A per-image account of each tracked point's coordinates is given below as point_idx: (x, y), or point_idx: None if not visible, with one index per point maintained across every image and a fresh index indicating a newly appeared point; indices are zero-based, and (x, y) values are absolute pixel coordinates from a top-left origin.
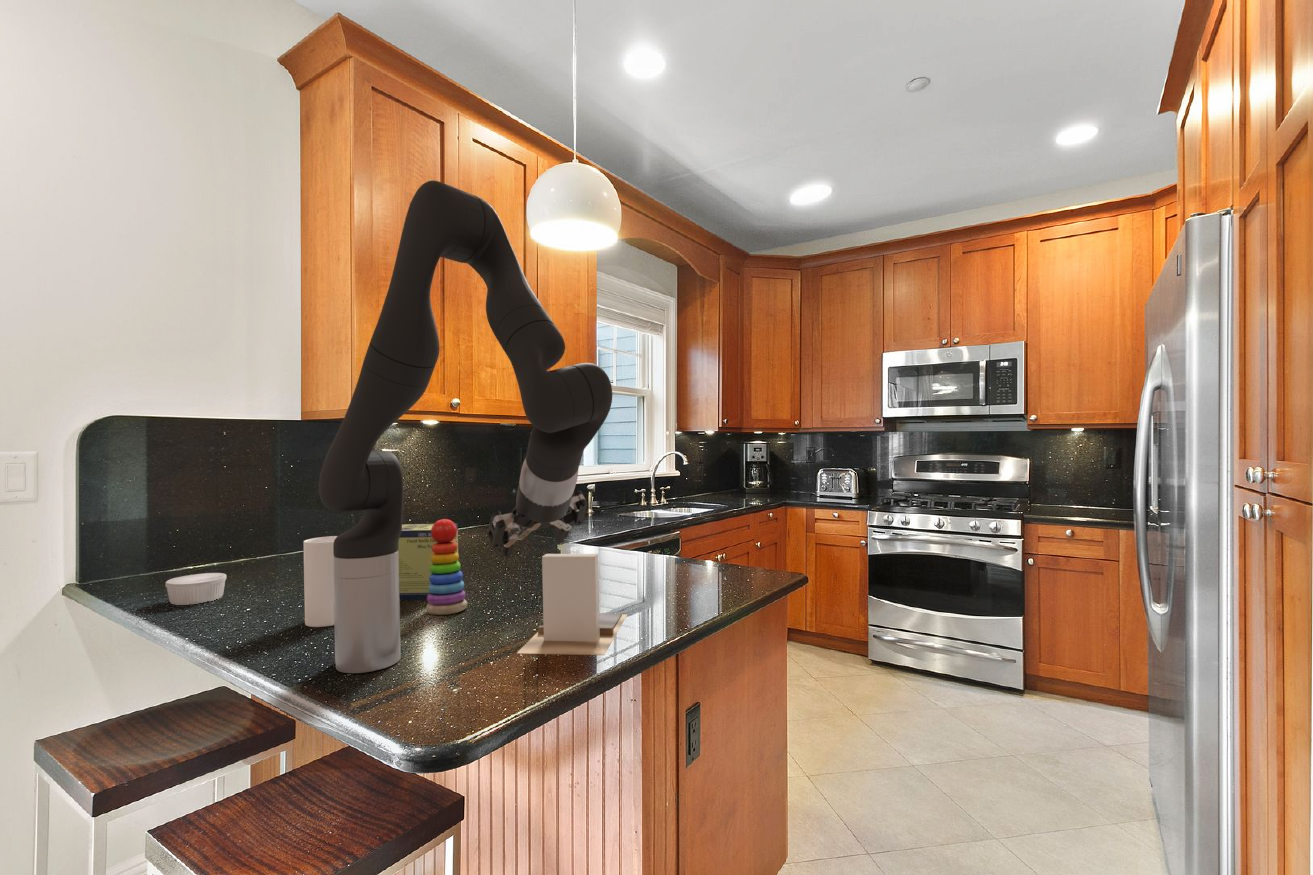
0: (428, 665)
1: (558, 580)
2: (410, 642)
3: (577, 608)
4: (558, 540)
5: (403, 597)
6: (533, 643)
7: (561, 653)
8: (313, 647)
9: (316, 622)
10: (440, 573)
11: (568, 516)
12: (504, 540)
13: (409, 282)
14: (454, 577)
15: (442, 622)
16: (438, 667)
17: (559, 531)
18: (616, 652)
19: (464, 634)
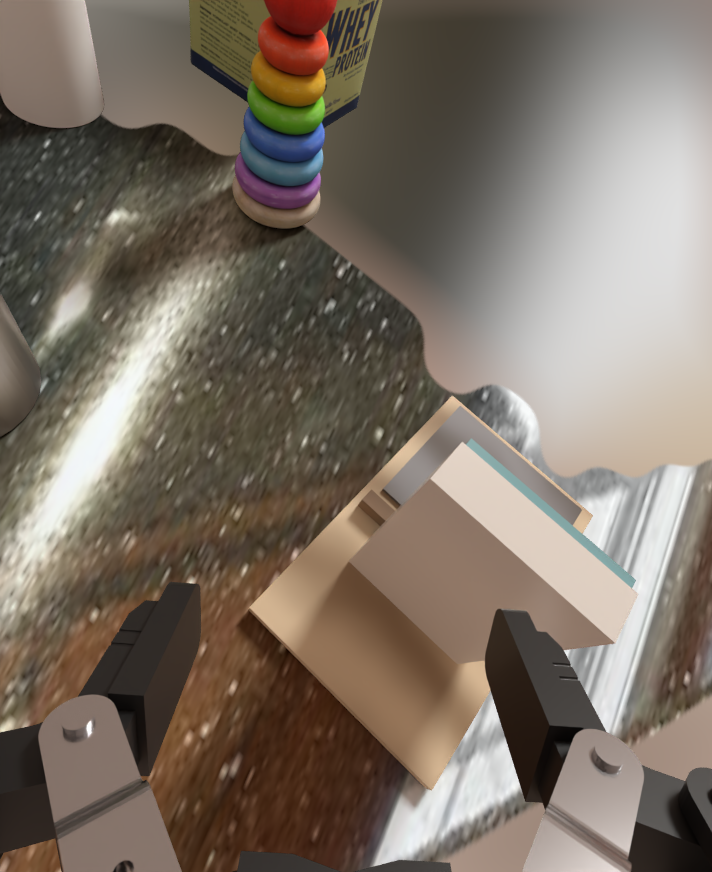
0: (58, 497)
1: (443, 551)
2: (112, 324)
3: (453, 614)
4: (491, 672)
5: (235, 90)
6: (318, 563)
7: (342, 694)
8: None
9: (10, 103)
10: (263, 124)
11: (646, 839)
12: (40, 837)
13: None
14: (293, 151)
15: (233, 258)
16: (68, 528)
17: (517, 728)
18: (477, 737)
19: (234, 358)
